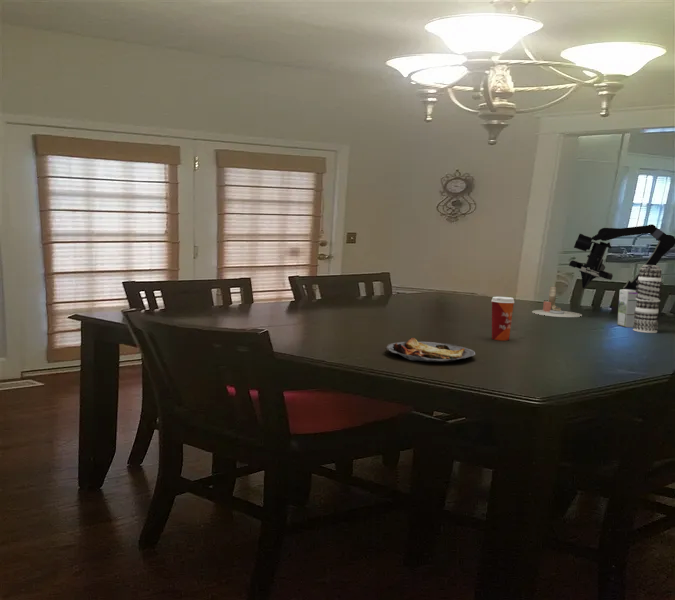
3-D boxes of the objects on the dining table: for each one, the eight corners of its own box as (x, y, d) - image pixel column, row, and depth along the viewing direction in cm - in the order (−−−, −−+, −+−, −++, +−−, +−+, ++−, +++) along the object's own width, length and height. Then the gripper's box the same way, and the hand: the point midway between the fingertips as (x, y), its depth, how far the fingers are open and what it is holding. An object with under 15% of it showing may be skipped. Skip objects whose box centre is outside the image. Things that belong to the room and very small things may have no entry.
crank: (560, 310, 289) (562, 289, 288) (554, 310, 289) (555, 289, 288) (553, 307, 301) (555, 286, 300) (547, 306, 301) (549, 286, 300)
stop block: (550, 312, 295) (551, 302, 295) (544, 311, 295) (545, 302, 295) (548, 311, 298) (549, 301, 298) (543, 311, 298) (543, 301, 298)
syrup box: (638, 327, 258) (641, 290, 256) (624, 327, 257) (627, 290, 255) (629, 325, 263) (632, 289, 262) (616, 324, 262) (619, 288, 261)
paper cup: (505, 342, 214) (508, 299, 212) (484, 338, 219) (487, 297, 217) (516, 339, 220) (519, 298, 218) (495, 336, 225) (498, 295, 223)
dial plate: (589, 318, 280) (589, 315, 279) (540, 316, 280) (540, 313, 280) (572, 311, 300) (572, 308, 300) (526, 309, 301) (526, 306, 300)
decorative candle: (638, 332, 244) (644, 265, 241) (627, 328, 254) (633, 263, 251) (662, 333, 245) (669, 266, 242) (650, 329, 254) (656, 264, 251)
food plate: (370, 354, 186) (371, 342, 186) (412, 344, 205) (413, 333, 204) (448, 371, 171) (449, 358, 171) (487, 359, 190) (488, 347, 189)
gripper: (623, 263, 291) (610, 296, 294) (586, 250, 304) (573, 282, 307) (612, 260, 283) (599, 294, 286) (574, 248, 296) (562, 280, 299)
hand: (583, 287), depth 295 cm, fingers closed
